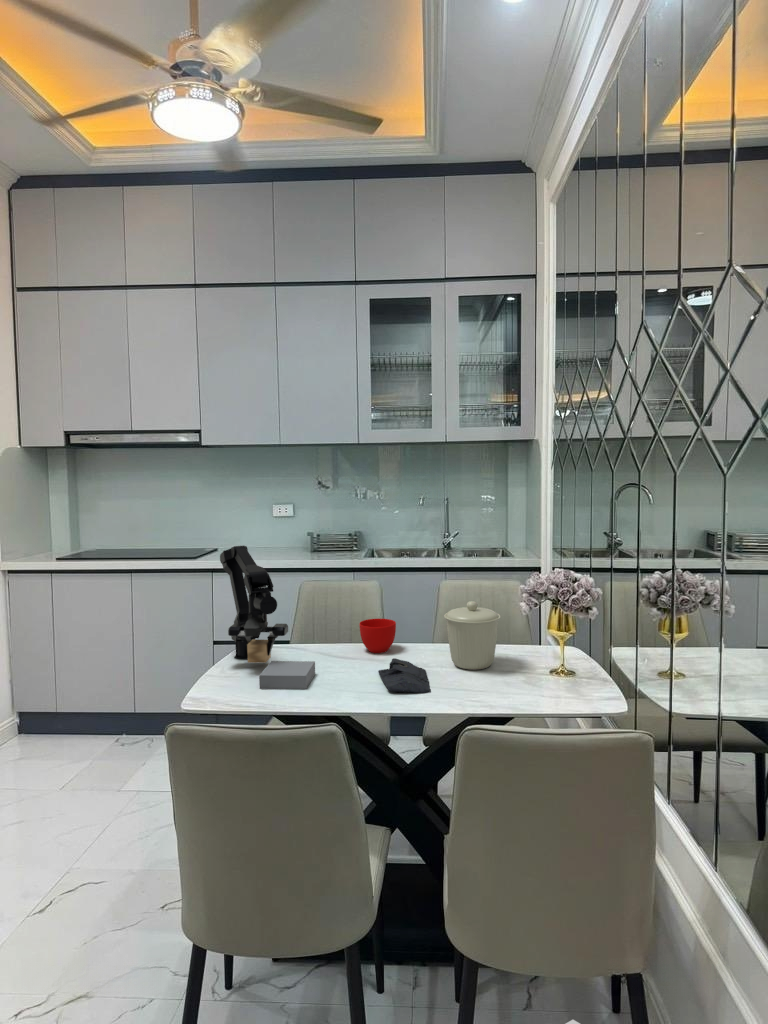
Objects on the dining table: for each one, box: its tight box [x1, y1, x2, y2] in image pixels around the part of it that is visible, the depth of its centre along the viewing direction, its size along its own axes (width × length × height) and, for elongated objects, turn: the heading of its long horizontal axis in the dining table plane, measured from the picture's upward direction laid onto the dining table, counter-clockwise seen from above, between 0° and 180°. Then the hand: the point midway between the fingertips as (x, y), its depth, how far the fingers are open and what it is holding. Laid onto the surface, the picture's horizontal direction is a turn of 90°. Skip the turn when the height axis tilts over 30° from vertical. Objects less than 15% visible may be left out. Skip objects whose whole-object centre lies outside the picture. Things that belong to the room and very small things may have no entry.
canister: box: [443, 600, 501, 671], centre depth 203 cm, size 18×18×21 cm
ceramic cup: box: [358, 618, 397, 654], centre depth 224 cm, size 13×17×10 cm
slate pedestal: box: [258, 660, 316, 690], centre depth 192 cm, size 14×14×4 cm
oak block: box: [247, 639, 272, 664], centre depth 207 cm, size 6×6×6 cm
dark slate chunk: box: [377, 658, 432, 694], centre depth 189 cm, size 15×22×5 cm
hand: (259, 655), depth 207 cm, fingers closed on oak block, 6 cm apart
